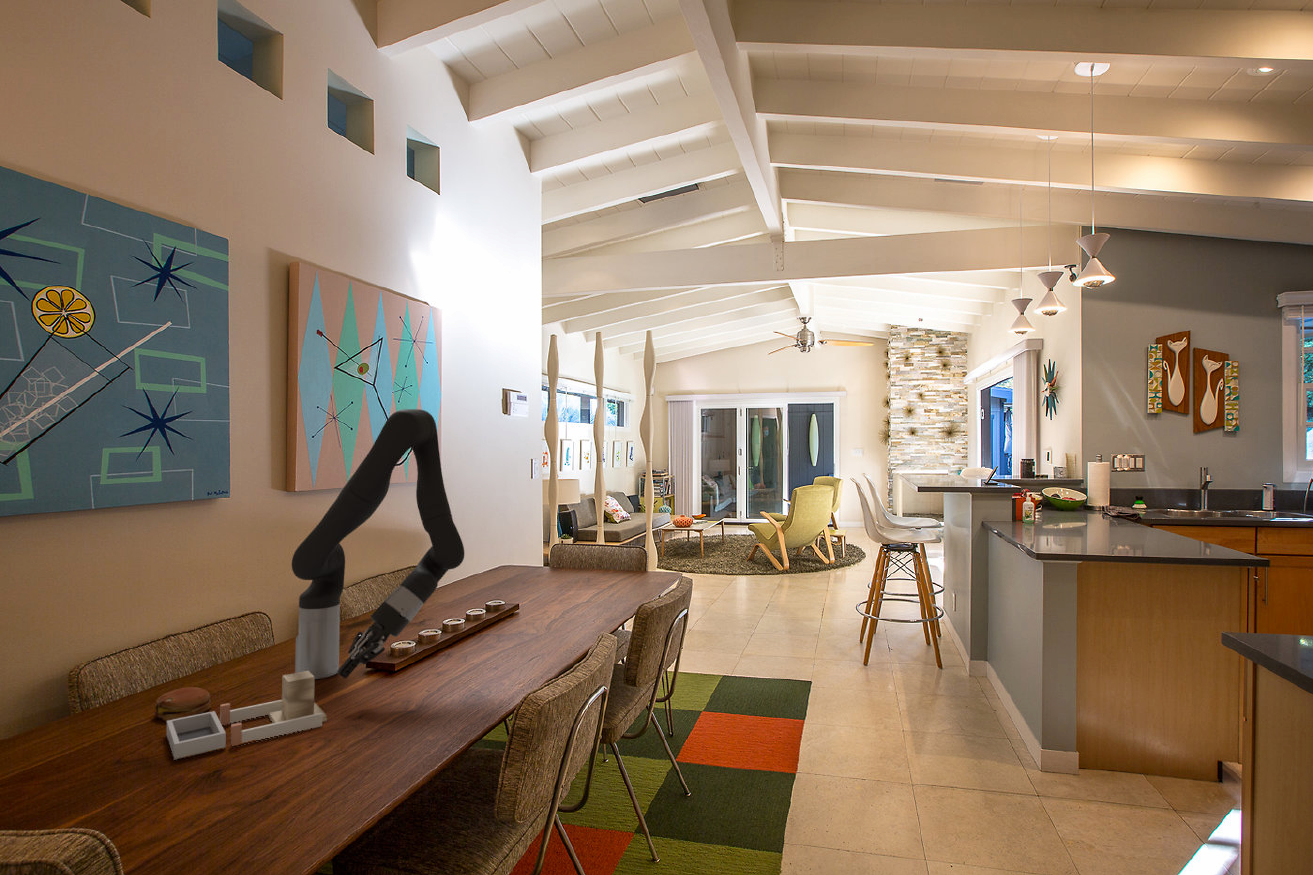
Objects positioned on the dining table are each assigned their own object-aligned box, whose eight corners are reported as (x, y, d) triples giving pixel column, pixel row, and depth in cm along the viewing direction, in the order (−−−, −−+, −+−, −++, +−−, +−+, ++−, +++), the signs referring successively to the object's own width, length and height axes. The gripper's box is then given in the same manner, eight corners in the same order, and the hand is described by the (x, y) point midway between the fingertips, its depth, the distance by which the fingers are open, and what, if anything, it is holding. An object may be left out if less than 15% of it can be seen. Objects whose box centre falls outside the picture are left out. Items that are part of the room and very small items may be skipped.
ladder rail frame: (304, 705, 153) (305, 687, 153) (322, 726, 142) (322, 706, 142) (219, 724, 143) (220, 704, 143) (231, 747, 132) (232, 726, 132)
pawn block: (315, 708, 152) (315, 666, 152) (326, 721, 145) (327, 677, 145) (268, 718, 146) (269, 674, 146) (278, 732, 139) (279, 686, 139)
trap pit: (214, 725, 142) (214, 711, 142) (225, 748, 131) (225, 732, 131) (166, 736, 137) (166, 720, 137) (174, 760, 126) (174, 744, 126)
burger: (217, 703, 154) (217, 682, 154) (198, 720, 145) (198, 698, 145) (167, 706, 152) (168, 685, 152) (145, 723, 143) (145, 701, 143)
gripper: (376, 595, 162) (319, 658, 154) (396, 605, 152) (336, 673, 144) (398, 615, 166) (344, 677, 158) (420, 625, 156) (363, 693, 148)
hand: (340, 675), depth 151 cm, fingers closed
